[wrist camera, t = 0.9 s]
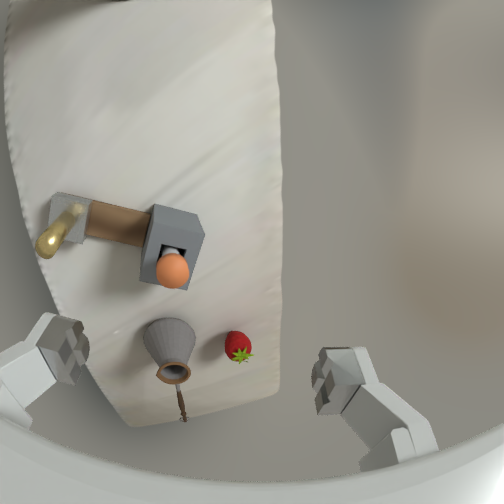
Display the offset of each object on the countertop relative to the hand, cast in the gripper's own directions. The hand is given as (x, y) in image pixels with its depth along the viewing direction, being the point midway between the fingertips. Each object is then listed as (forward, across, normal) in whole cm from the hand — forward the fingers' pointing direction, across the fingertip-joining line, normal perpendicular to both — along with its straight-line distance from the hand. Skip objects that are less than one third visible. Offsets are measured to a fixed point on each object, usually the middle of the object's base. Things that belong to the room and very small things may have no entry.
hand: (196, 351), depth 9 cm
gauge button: (+37, +10, +17) cm, 42 cm away
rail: (+38, +23, +13) cm, 46 cm away
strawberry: (+42, -3, +42) cm, 60 cm away
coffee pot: (+38, +11, +45) cm, 60 cm away
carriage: (+34, +28, +12) cm, 46 cm away
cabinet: (+41, +11, +17) cm, 45 cm away
